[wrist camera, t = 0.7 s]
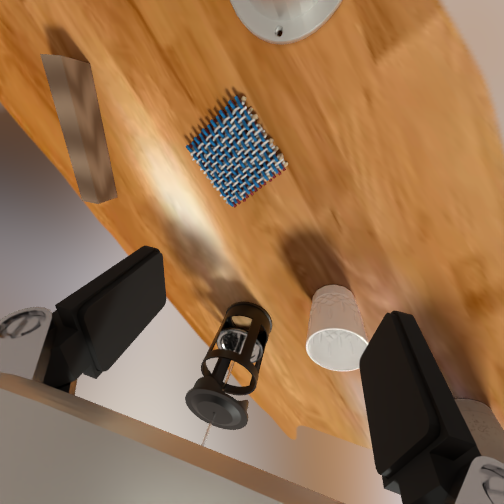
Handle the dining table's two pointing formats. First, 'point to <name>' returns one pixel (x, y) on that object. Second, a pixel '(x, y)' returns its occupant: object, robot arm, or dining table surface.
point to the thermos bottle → (483, 428)
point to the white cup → (336, 329)
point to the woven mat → (236, 153)
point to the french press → (230, 348)
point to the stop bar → (81, 125)
